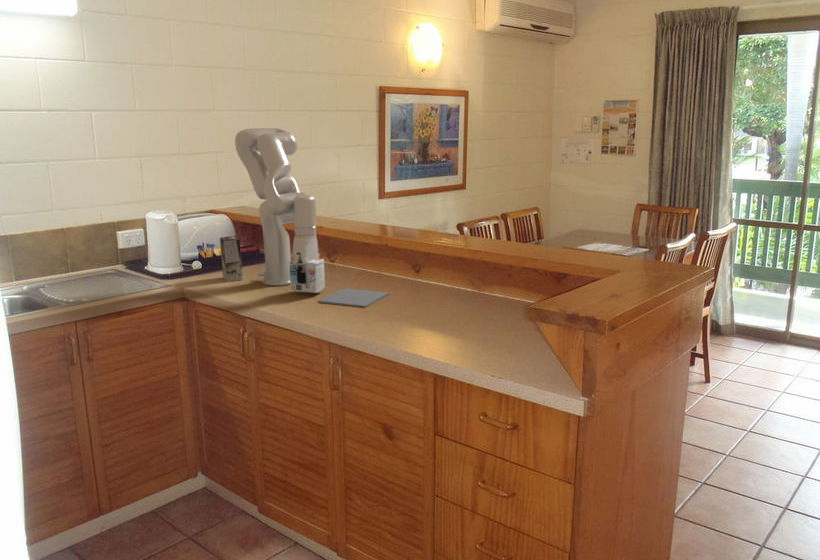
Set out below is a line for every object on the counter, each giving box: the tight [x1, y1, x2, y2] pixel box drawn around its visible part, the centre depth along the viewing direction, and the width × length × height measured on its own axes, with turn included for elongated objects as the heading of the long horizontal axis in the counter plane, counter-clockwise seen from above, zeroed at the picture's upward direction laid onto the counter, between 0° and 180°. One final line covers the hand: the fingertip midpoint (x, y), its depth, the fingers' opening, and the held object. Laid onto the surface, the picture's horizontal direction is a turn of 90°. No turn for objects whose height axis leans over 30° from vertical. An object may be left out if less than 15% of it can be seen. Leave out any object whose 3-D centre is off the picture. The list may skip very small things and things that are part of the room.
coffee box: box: [219, 235, 244, 282], centre depth 266 cm, size 9×6×16 cm
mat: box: [317, 288, 389, 309], centre depth 236 cm, size 18×18×1 cm
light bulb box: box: [289, 258, 326, 294], centre depth 242 cm, size 11×7×11 cm, turn 71°
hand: (307, 280), depth 243 cm, fingers closed on light bulb box, 7 cm apart
